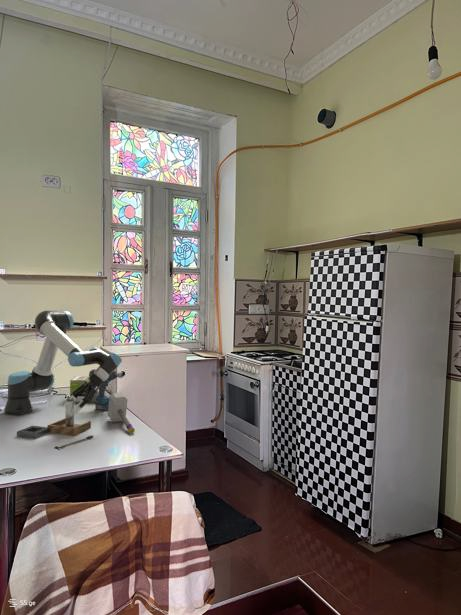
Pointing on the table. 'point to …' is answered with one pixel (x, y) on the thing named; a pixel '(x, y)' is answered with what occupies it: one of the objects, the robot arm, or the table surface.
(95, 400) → the grey box
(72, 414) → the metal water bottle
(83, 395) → the tea box
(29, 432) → the socket
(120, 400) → the hammer
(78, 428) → the brown wooden tray
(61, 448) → the tan and black strip
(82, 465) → the table surface
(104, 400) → the impact wrench
